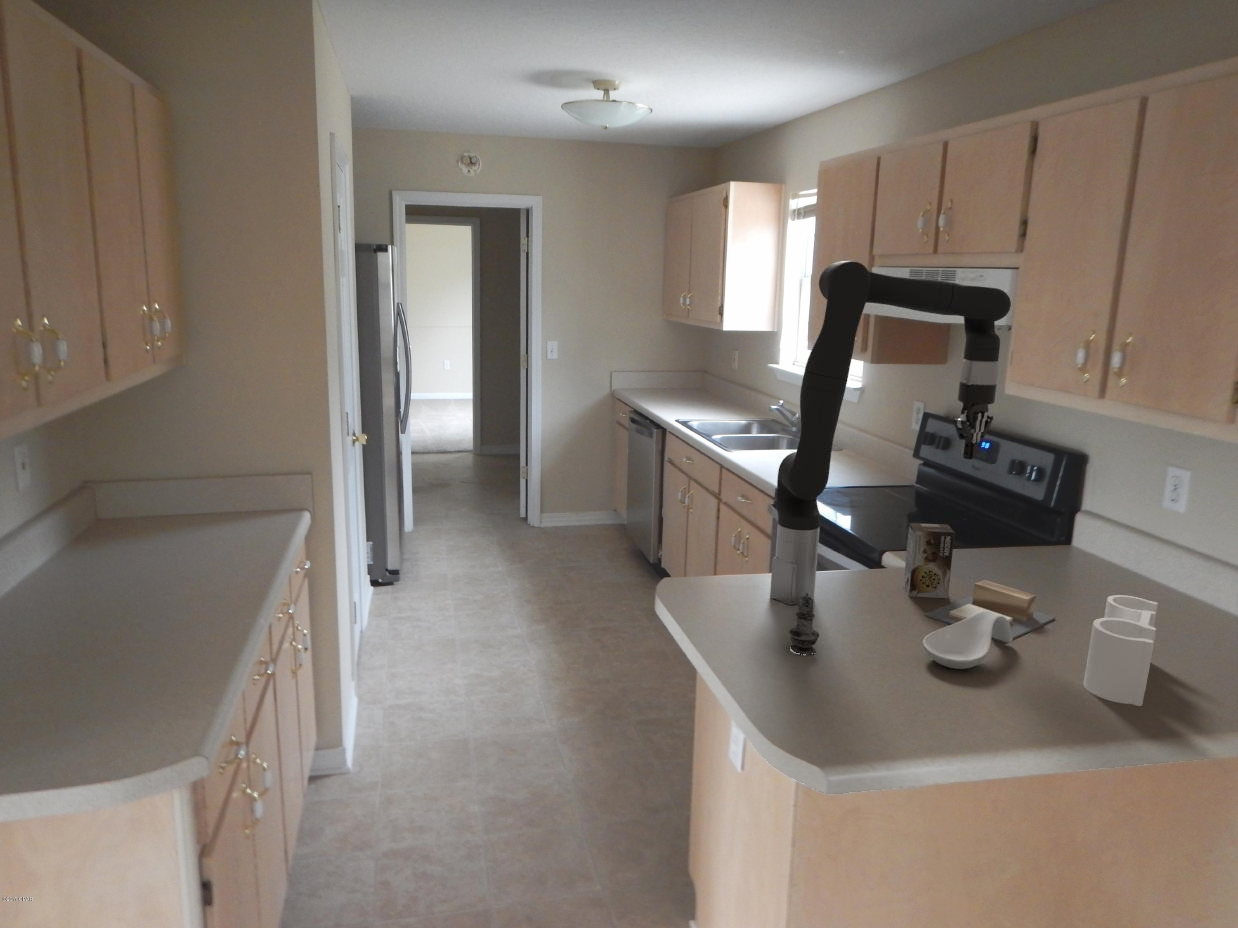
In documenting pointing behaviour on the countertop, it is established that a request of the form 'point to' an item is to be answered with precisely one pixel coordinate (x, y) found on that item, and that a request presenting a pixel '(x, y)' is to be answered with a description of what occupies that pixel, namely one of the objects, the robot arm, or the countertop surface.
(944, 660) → the spoon rest
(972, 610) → the tile
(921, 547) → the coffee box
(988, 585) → the block
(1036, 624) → the mat
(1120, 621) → the bracket
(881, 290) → the robot arm
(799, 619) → the chess piece
